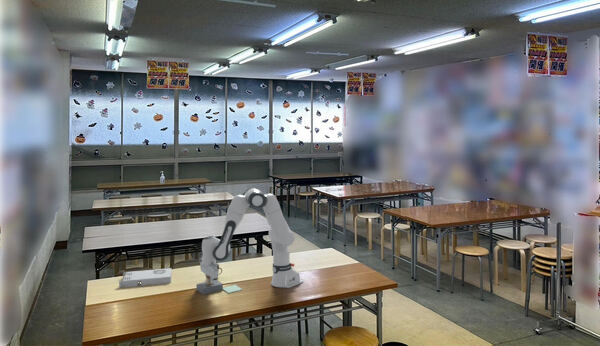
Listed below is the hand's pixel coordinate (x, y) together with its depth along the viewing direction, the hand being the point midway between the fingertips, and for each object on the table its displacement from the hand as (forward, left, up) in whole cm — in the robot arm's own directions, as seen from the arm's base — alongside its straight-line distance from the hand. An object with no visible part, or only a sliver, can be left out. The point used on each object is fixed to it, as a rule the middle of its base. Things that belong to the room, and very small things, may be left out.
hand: (209, 281), depth 270 cm
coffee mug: (-11, -17, -6) cm, 21 cm away
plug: (0, 0, -6) cm, 6 cm away
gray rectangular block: (0, 0, -6) cm, 6 cm away
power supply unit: (+28, -43, -7) cm, 52 cm away
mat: (-12, +8, -6) cm, 15 cm away
